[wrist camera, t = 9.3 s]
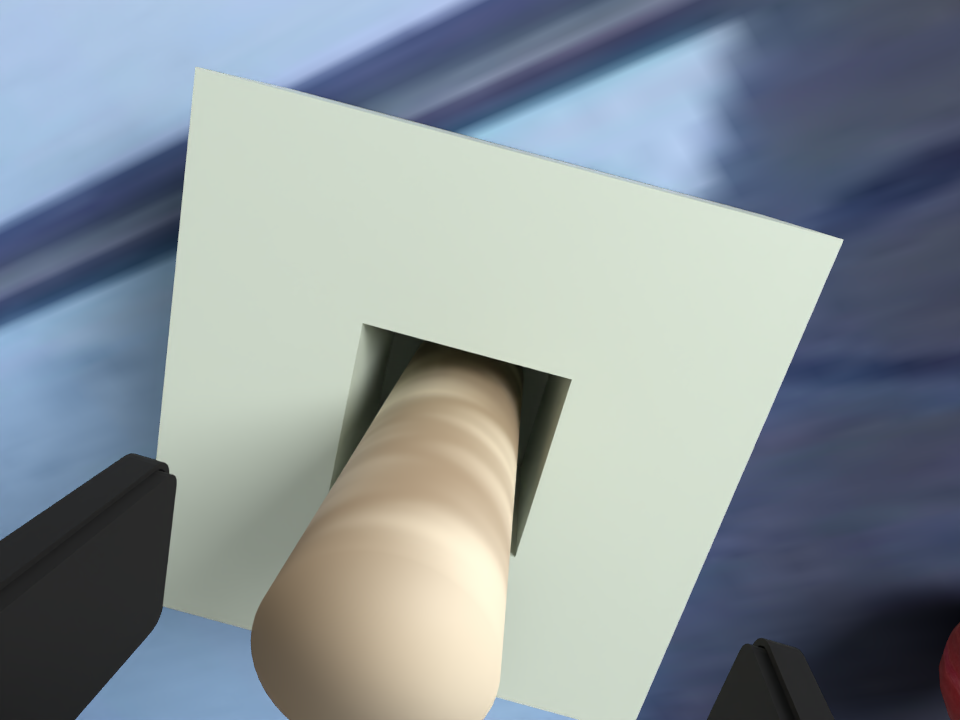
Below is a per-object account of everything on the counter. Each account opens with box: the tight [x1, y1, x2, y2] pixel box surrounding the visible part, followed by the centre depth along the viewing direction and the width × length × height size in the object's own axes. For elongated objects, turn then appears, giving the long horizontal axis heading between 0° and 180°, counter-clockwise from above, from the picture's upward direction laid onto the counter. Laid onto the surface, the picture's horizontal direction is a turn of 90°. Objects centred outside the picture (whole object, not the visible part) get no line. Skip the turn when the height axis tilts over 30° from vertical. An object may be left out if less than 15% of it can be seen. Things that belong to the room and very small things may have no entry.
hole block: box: [156, 67, 843, 720], centre depth 19 cm, size 14×14×6 cm
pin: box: [251, 340, 523, 720], centre depth 15 cm, size 4×4×12 cm
